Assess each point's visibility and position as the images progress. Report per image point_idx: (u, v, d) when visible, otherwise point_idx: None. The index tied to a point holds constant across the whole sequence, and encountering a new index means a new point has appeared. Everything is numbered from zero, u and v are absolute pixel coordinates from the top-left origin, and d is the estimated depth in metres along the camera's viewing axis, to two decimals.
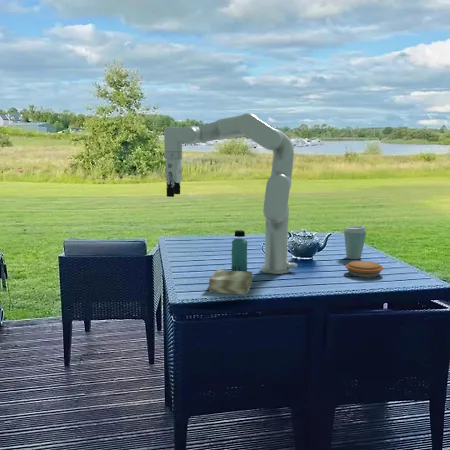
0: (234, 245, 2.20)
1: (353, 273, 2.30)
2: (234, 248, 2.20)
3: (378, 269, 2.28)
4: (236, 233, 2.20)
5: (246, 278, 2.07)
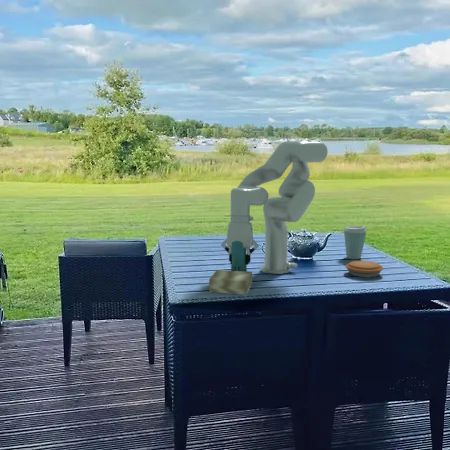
0: (233, 245, 2.20)
1: (353, 273, 2.30)
2: (233, 248, 2.20)
3: (378, 269, 2.28)
4: None
5: (246, 278, 2.07)
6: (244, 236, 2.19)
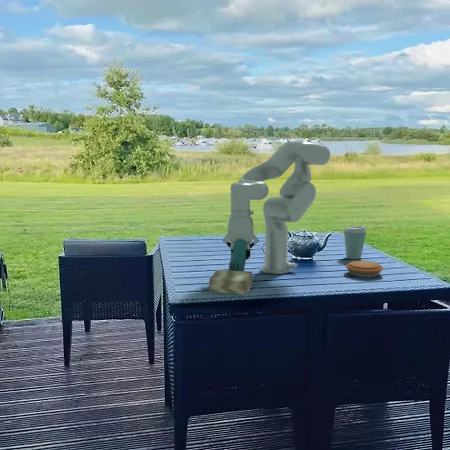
0: (237, 242, 2.20)
1: (353, 273, 2.30)
2: (236, 245, 2.20)
3: (378, 269, 2.28)
4: None
5: (246, 278, 2.07)
6: (245, 231, 2.19)
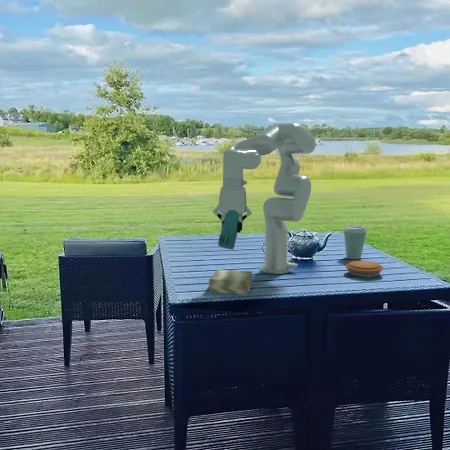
0: (228, 213, 2.06)
1: (353, 273, 2.30)
2: (227, 216, 2.06)
3: (378, 269, 2.28)
4: None
5: (246, 278, 2.07)
6: (237, 201, 2.05)
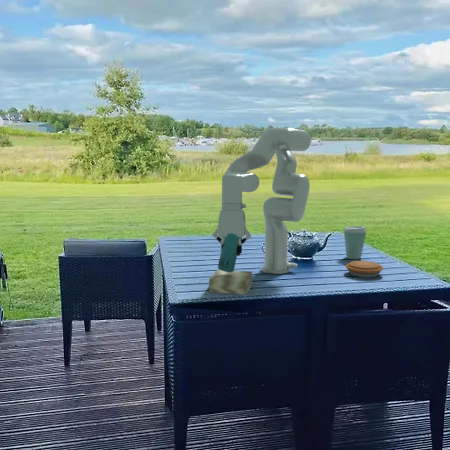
0: (227, 236, 2.07)
1: (353, 273, 2.30)
2: (227, 239, 2.07)
3: (378, 269, 2.28)
4: None
5: (246, 278, 2.07)
6: (236, 225, 2.05)
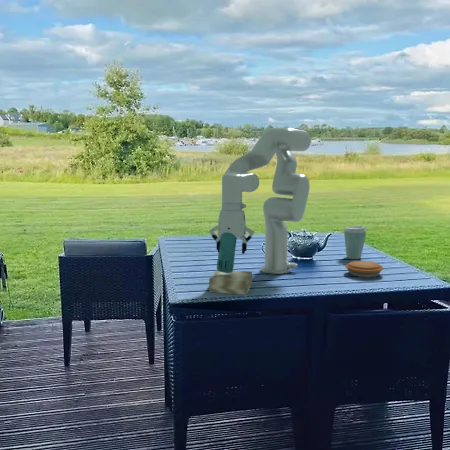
0: (223, 237, 2.06)
1: (353, 273, 2.30)
2: (223, 241, 2.06)
3: (378, 269, 2.28)
4: None
5: (246, 278, 2.07)
6: (236, 225, 2.05)
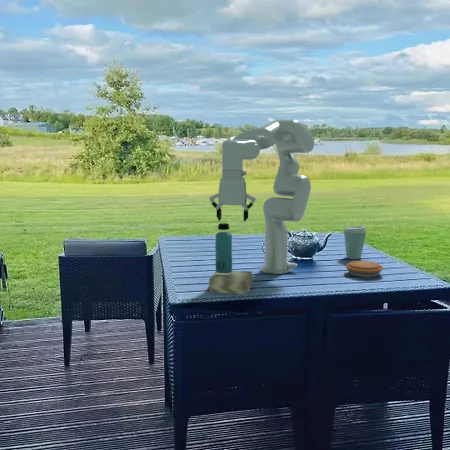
0: (218, 239, 2.06)
1: (353, 273, 2.30)
2: (218, 242, 2.06)
3: (378, 269, 2.28)
4: (219, 226, 2.06)
5: (246, 278, 2.07)
6: (237, 192, 2.03)
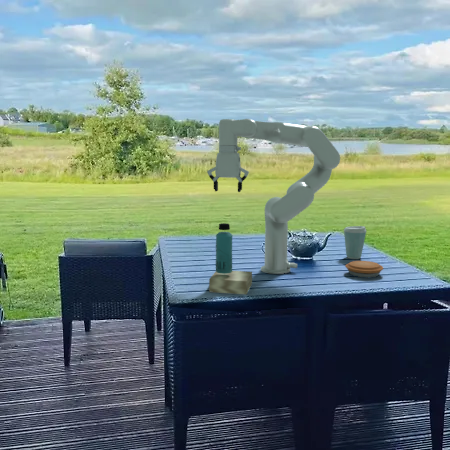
0: (218, 239, 2.06)
1: (353, 273, 2.30)
2: (218, 242, 2.06)
3: (378, 269, 2.28)
4: (220, 226, 2.06)
5: (246, 278, 2.07)
6: (232, 165, 2.26)
